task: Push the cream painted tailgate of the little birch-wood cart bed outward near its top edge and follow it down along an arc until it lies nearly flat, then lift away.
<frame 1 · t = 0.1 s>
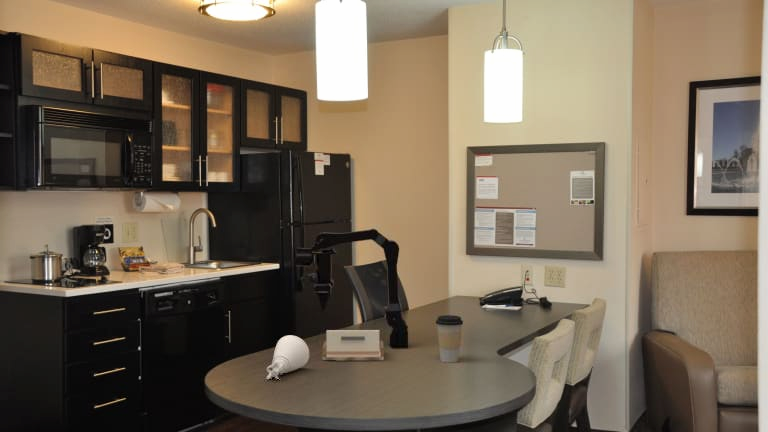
hand: (323, 308, 269), 15 cm above the table, tool pointing down, fingers open, 9 cm apart
cart bed: (353, 356, 254), on the table
rocket engine: (279, 374, 229), on the table
coffee cup: (449, 361, 248), on the table
tailgate: (352, 343, 246), point 6 cm above the table, hinge at 0.0°
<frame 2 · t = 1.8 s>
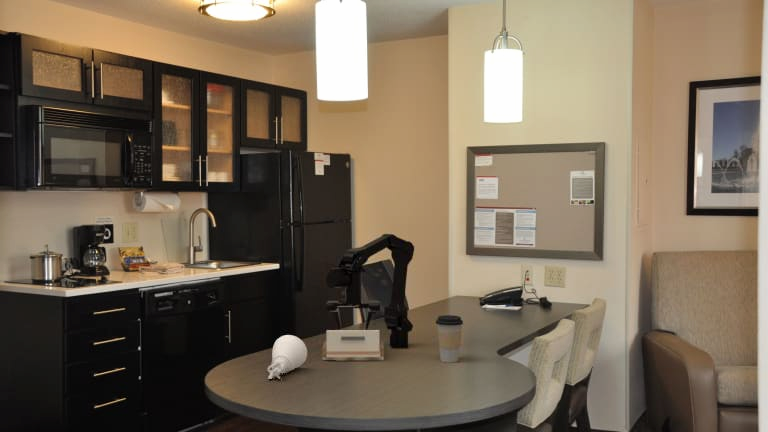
hand: (353, 330, 253), 9 cm above the table, tool pointing down, fingers open, 9 cm apart
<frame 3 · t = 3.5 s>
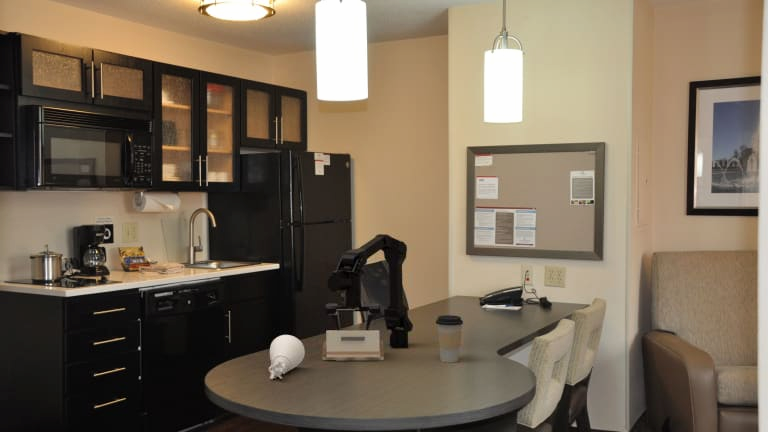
hand: (352, 333, 248), 9 cm above the table, tool pointing down
tailgate: (352, 344, 246), point 6 cm above the table, hinge at 3.1°, touching gripper
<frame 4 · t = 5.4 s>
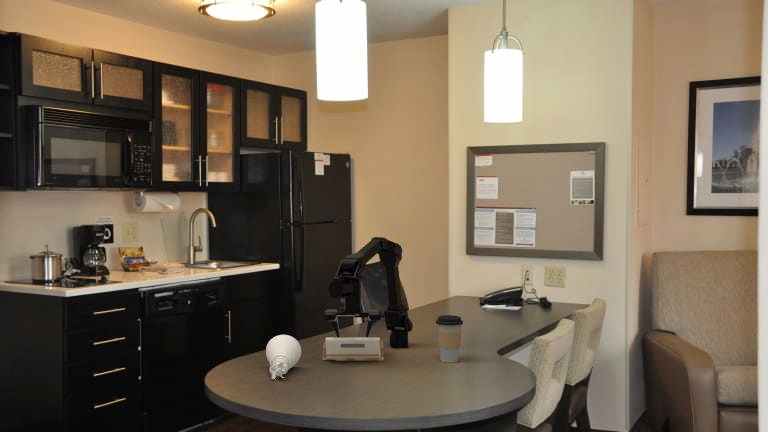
hand: (352, 340, 243), 8 cm above the table, tool pointing down
tailgate: (352, 348, 244), point 5 cm above the table, hinge at 36.4°, touching gripper
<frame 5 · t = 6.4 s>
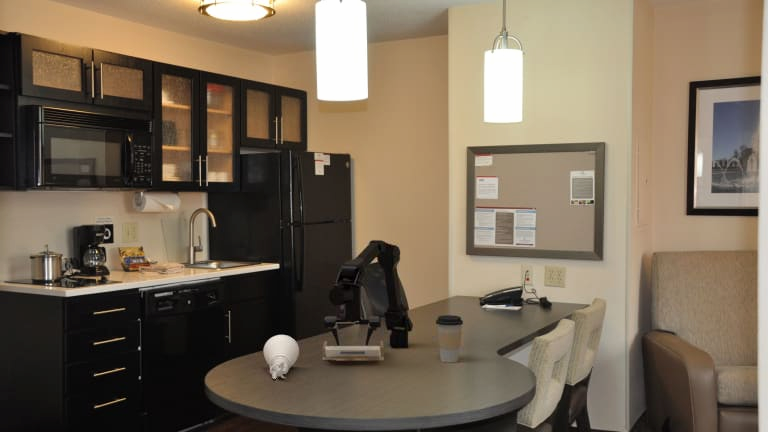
hand: (352, 347, 241), 6 cm above the table, tool pointing down
tailgate: (352, 353, 243), point 4 cm above the table, hinge at 58.4°, touching gripper
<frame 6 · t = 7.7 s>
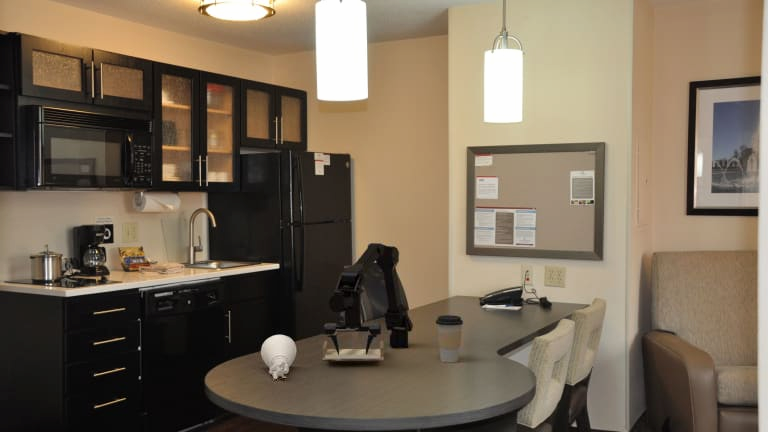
hand: (352, 354, 240), 4 cm above the table, tool pointing down
tailgate: (352, 357, 242), point 2 cm above the table, hinge at 77.2°, touching gripper
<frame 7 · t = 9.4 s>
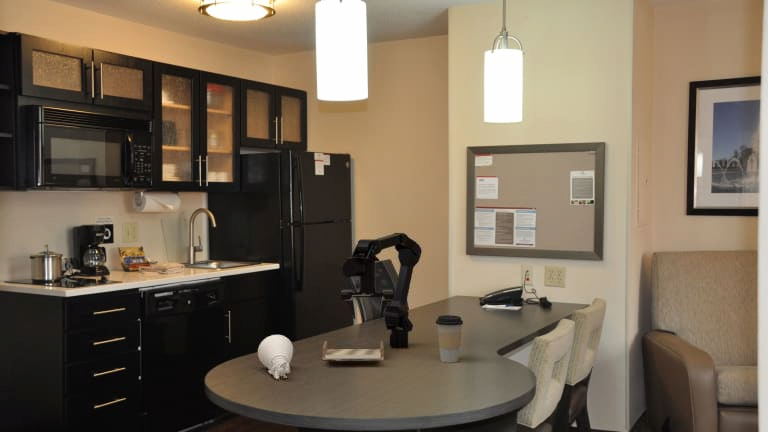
hand: (367, 318, 256), 13 cm above the table, tool pointing down, fingers open, 9 cm apart
tailgate: (352, 357, 242), point 2 cm above the table, hinge at 77.2°
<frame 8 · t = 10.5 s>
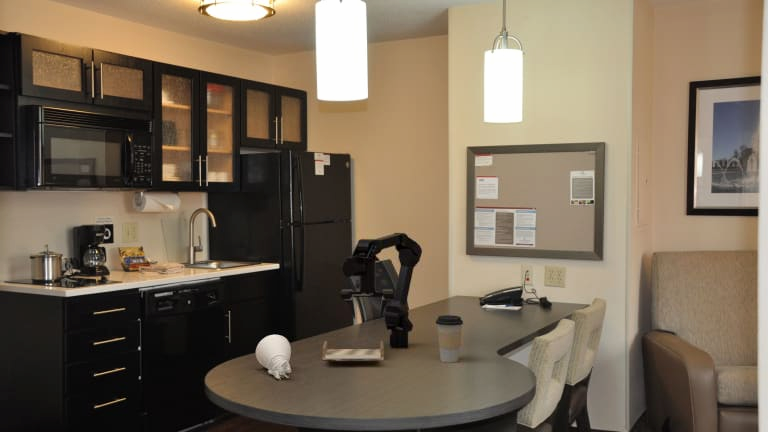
hand: (367, 318, 256), 13 cm above the table, tool pointing down, fingers open, 9 cm apart
at the end: tailgate at +77° (first picture: +0°); the gripper is holding nothing; rocket engine moved 2.1 cm from its start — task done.
